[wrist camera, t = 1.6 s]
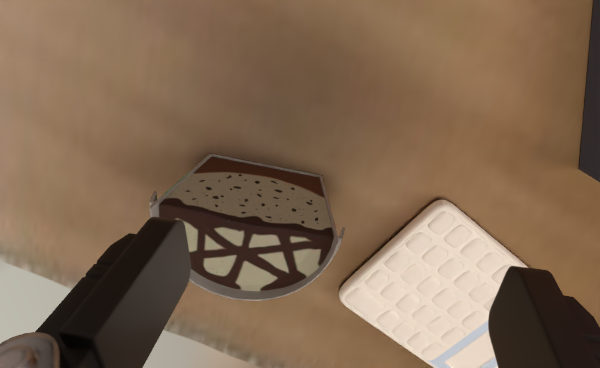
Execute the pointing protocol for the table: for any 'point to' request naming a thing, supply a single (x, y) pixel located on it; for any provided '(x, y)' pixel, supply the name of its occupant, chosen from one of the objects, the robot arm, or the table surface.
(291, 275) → the food container
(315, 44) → the table surface
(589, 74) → the fence
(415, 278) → the calculator
